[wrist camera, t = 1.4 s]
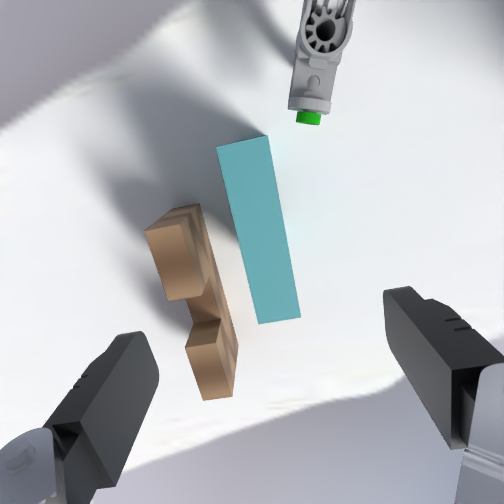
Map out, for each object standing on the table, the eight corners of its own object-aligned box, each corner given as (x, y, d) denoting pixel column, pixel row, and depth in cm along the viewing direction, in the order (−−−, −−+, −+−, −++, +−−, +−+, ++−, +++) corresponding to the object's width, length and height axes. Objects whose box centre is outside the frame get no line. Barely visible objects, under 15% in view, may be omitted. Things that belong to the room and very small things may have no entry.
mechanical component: (279, 124, 29) (286, 119, 20) (298, -9, 25) (319, -94, 16) (310, 129, 29) (332, 126, 20) (334, -4, 25) (376, -85, 16)
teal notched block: (235, 142, 30) (215, 147, 18) (265, 135, 29) (267, 135, 17) (260, 256, 34) (258, 324, 22) (287, 251, 33) (301, 317, 21)
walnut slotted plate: (171, 209, 32) (144, 231, 25) (199, 203, 32) (179, 224, 24) (214, 348, 38) (203, 400, 31) (238, 345, 38) (232, 396, 30)
